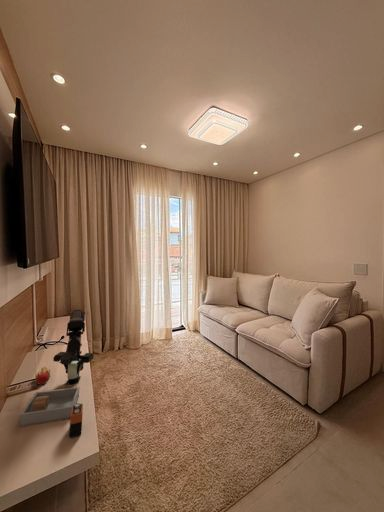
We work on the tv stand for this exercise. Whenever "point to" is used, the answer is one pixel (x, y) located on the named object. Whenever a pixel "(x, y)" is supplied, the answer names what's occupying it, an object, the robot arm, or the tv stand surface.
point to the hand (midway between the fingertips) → (73, 373)
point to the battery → (76, 420)
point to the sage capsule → (72, 370)
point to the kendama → (43, 376)
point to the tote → (51, 406)
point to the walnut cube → (40, 403)
